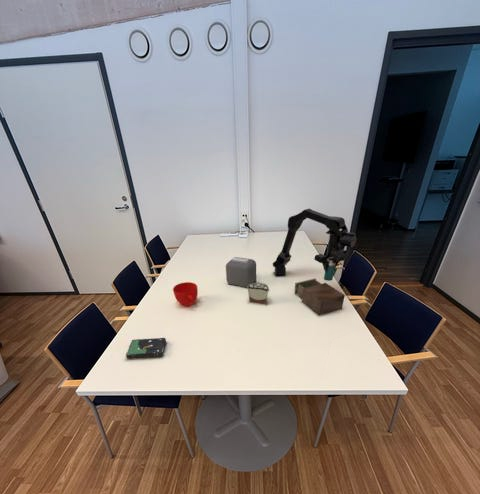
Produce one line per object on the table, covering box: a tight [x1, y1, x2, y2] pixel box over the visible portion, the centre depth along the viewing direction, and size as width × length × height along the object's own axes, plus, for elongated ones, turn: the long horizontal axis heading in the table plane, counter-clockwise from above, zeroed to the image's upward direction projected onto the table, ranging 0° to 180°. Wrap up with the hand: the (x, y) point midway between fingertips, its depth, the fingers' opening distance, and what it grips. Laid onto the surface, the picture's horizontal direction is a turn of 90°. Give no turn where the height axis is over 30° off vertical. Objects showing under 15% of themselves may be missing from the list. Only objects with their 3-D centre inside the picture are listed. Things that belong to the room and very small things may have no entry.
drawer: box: [293, 278, 322, 299], centre depth 147 cm, size 18×13×7 cm
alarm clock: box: [225, 256, 257, 288], centre depth 162 cm, size 16×11×16 cm
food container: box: [246, 282, 270, 306], centre depth 145 cm, size 12×6×10 cm, turn 71°
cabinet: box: [301, 282, 346, 317], centre depth 139 cm, size 15×14×8 cm
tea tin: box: [323, 260, 336, 282], centre depth 148 cm, size 5×5×10 cm
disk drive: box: [125, 337, 167, 360], centre depth 114 cm, size 10×3×15 cm
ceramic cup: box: [172, 281, 199, 307], centre depth 143 cm, size 13×17×10 cm
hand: (329, 270), depth 148 cm, fingers closed on tea tin, 5 cm apart
